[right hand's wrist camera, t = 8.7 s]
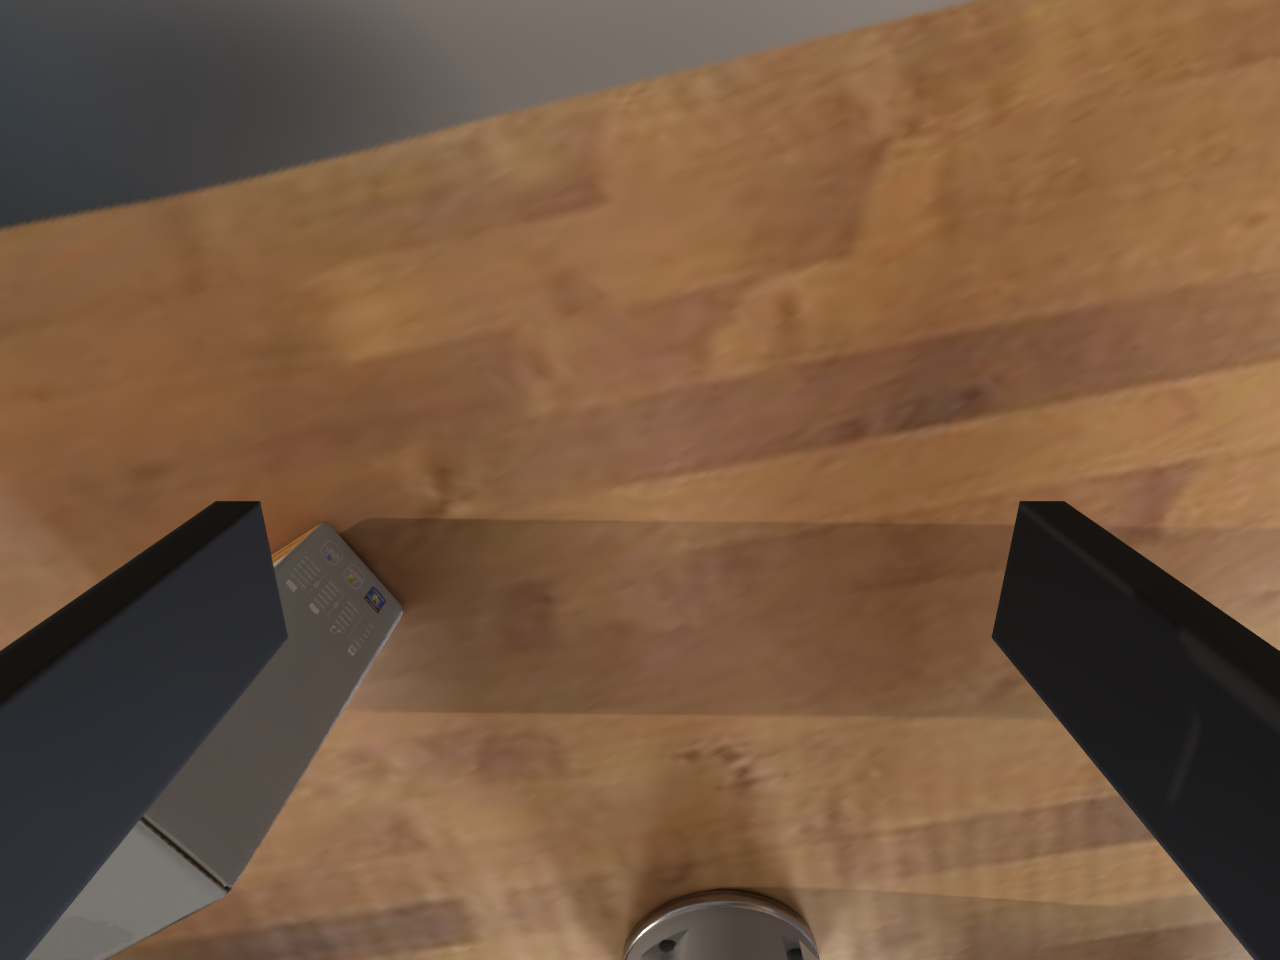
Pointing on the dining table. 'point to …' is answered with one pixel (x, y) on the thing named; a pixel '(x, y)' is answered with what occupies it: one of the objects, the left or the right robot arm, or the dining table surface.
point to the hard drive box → (239, 759)
